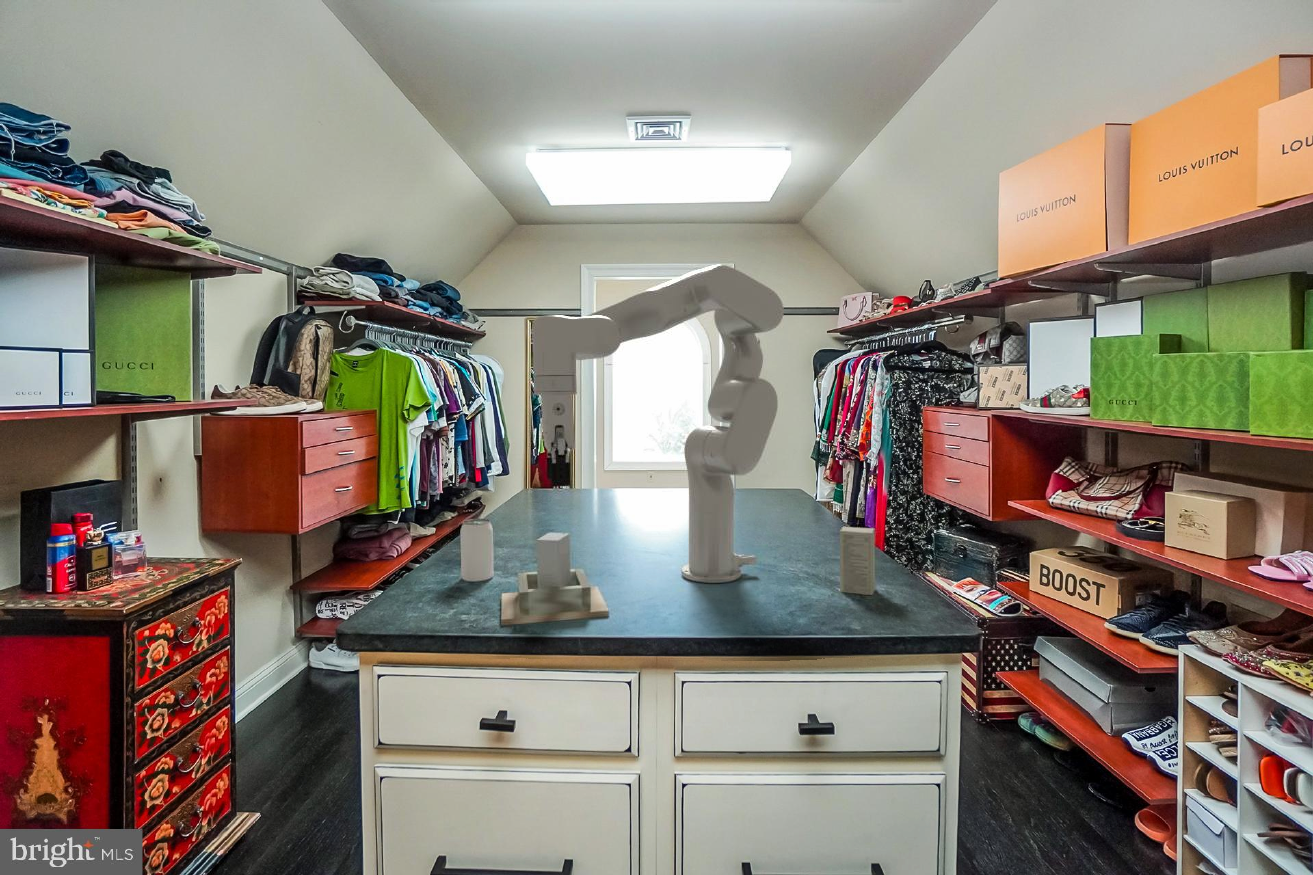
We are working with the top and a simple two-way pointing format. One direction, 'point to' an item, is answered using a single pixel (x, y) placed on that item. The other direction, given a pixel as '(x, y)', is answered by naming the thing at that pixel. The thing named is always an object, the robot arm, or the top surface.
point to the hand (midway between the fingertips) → (558, 482)
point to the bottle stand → (552, 601)
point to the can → (476, 550)
